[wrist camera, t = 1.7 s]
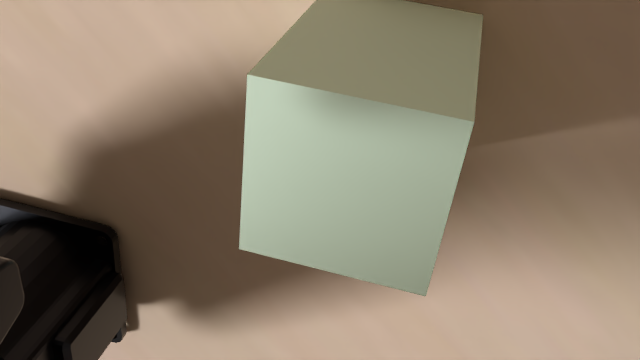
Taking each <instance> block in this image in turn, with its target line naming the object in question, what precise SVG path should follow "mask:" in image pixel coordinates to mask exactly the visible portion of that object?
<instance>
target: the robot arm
mask: <svg viewBox="0 0 640 360" xmlns="http://www.w3.org/2000/svg"><path fill="white" fill-rule="evenodd" d="M102 236H103V237H104V238H103V237H102ZM126 320H127V311H126V300H125V289H124V279H123V277H122V275H121V266H120V255H119V244H118V236H117V234H116V232H115V231H114V230H113V229H112V228H111V227H109V226H106V225H103V224H99V223H95V222H91V221H87V220H83V219H79V218H75V217H71V216H68V215H64V214H60V213H56V212H52V211H48V210H44V209H40V208H36V207H32V206H28V205H24V204H20V203H17V202H13V201H9V200H5V199H1V198H0V360H98V359H99V358H100V356H101V355H102V353H103V352H104V351H105V349H106V348H107V346H108V345H109V344H110V342H115V343H117V342H120V341H121V340H122V339H123V337H124V336H125V335H126Z"/></svg>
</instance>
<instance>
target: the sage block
mask: <svg viewBox="0 0 640 360" xmlns="http://www.w3.org/2000/svg"><path fill="white" fill-rule="evenodd" d="M482 24H483V15H482V14H477V13H471V12H466V11H460V10H455V9H449V8H444V7H438V6H433V5H427V4H422V3H416V2H411V1H405V0H316V1H315V2H314V3H313V4H312V5H311V6H310V8H309V9H308V10H307V11H306V12H305V13H304V14H303V15H302V16H301V17H300V18H299V19H298V20H297V22H296V23H295V24H294V25H293V26H292V27H291V28H290V29H289V30H288V31H287V32H286V33H285V34H284V36H283V37H282V38H281V39H280V40H279V41H278V42H277V43H276V44H275V45H274V46H273V47H272V48H271V50H270V51H269V52H268V53H267V54H266V55H265V56H264V57H263V58H262V59H261V60H260V61H259V62H258V63H257V65H256V66H255V67H254V68H253V69H252V70H251V71H250V72H249V73H248V74H247V91H246V112H245V133H244V154H243V176H242V197H241V218H240V239H239V249H241V250H245V251H249V252H253V253H257V254H260V255H264V256H268V257H272V258H276V259H280V260H284V261H288V262H292V263H296V264H300V265H304V266H308V267H312V268H316V269H320V270H324V271H328V272H332V273H335V274H339V275H343V276H347V277H351V278H355V279H359V280H363V281H367V282H371V283H375V284H379V285H383V286H387V287H391V288H395V289H399V290H403V291H406V292H410V293H414V294H418V295H422V296H426V294H427V290H428V286H429V283H430V279H431V276H432V272H433V268H434V265H435V261H436V258H437V254H438V251H439V247H440V243H441V240H442V236H443V233H444V229H445V226H446V222H447V218H448V215H449V211H450V208H451V204H452V200H453V197H454V193H455V190H456V186H457V183H458V179H459V175H460V172H461V168H462V165H463V161H464V157H465V154H466V150H467V147H468V143H469V140H470V136H471V132H472V129H473V125H474V121H475V109H476V97H477V85H478V73H479V60H480V48H481V36H482Z"/></svg>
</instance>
